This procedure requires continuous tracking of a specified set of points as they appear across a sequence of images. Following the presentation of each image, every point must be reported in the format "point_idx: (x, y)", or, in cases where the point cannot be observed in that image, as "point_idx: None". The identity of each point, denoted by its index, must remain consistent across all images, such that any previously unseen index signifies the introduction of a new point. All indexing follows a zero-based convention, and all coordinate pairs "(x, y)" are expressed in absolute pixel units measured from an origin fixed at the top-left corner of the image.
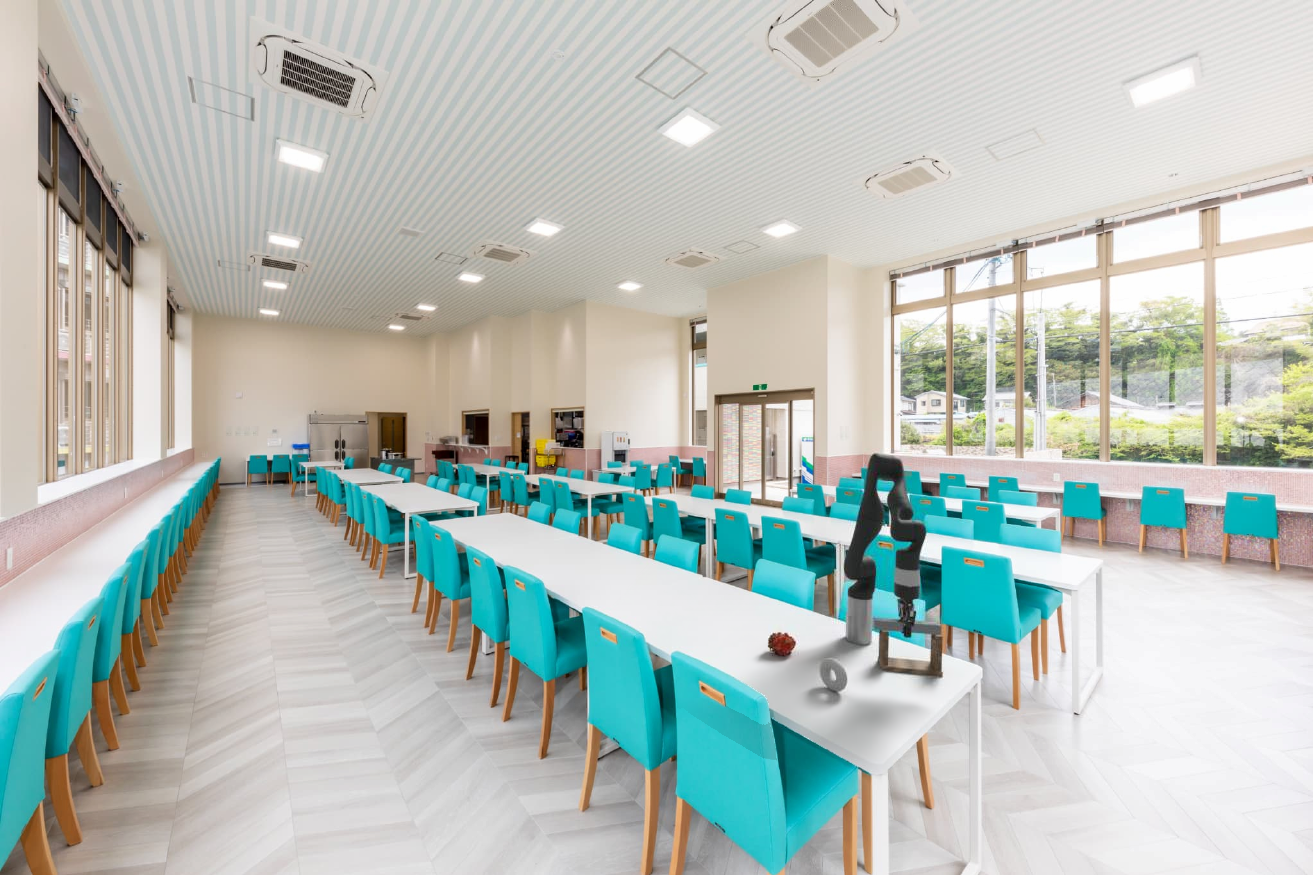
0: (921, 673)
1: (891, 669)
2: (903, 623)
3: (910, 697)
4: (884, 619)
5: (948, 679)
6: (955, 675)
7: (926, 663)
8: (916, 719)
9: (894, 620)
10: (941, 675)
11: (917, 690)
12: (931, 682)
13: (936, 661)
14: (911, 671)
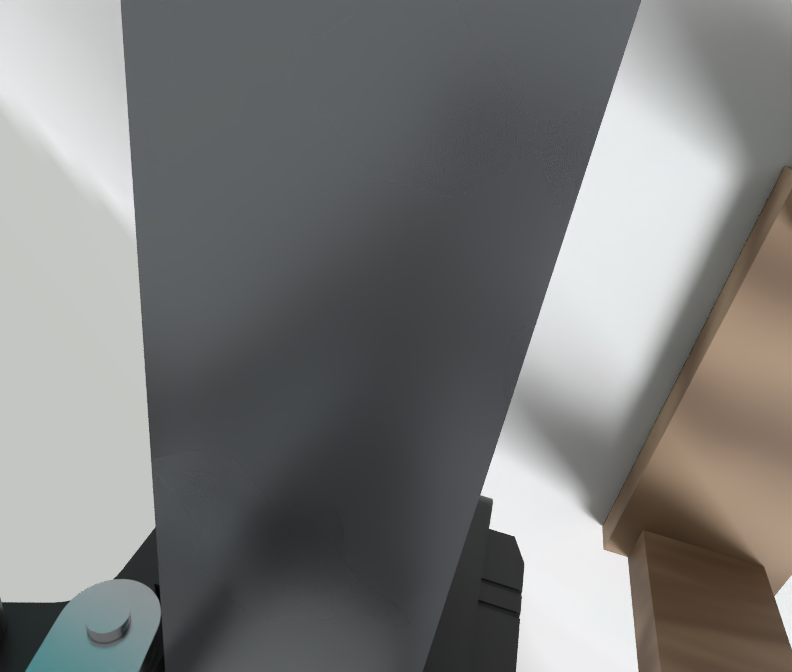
0: (652, 433)
1: (750, 246)
2: (100, 617)
3: None
4: (351, 294)
5: (559, 530)
6: (608, 592)
7: (758, 539)
8: (26, 68)
9: (293, 558)
10: (604, 525)
11: None
12: (522, 421)
13: (646, 583)
14: (680, 382)
